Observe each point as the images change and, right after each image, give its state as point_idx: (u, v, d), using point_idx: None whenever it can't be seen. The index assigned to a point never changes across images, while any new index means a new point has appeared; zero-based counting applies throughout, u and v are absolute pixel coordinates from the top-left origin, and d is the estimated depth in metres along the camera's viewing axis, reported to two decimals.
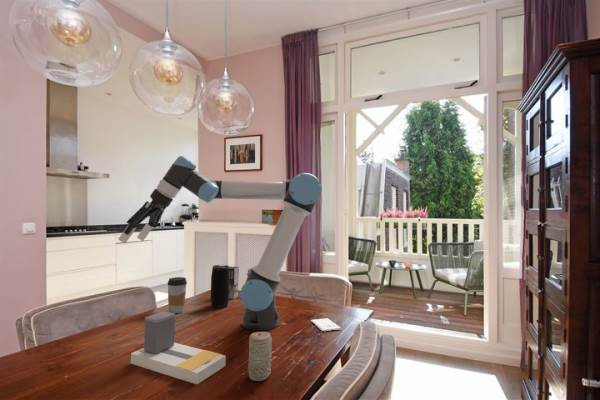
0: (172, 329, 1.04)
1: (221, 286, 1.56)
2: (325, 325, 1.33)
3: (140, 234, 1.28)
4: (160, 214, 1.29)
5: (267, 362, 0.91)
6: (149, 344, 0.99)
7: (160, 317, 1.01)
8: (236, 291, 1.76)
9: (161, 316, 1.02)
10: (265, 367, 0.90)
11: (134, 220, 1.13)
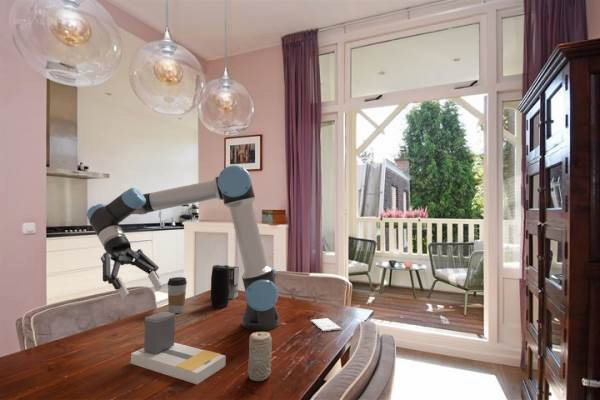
0: (172, 329, 1.04)
1: (221, 286, 1.56)
2: (325, 325, 1.33)
3: (155, 285, 1.12)
4: (144, 257, 1.16)
5: (267, 362, 0.91)
6: (149, 344, 0.99)
7: (160, 317, 1.01)
8: (236, 291, 1.76)
9: (161, 316, 1.02)
10: (265, 367, 0.90)
11: (105, 273, 1.01)
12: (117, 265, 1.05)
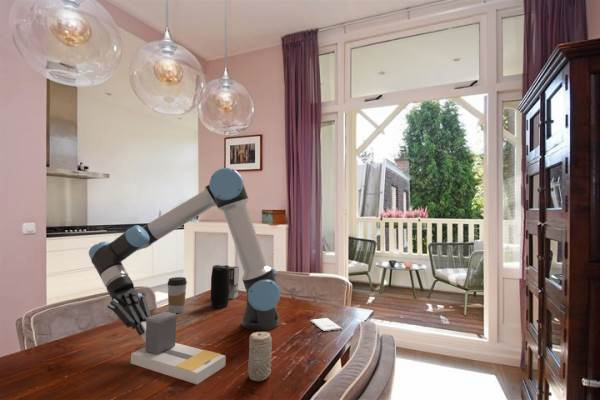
0: (173, 329, 1.03)
1: (221, 286, 1.56)
2: (325, 325, 1.33)
3: None
4: (143, 302, 1.11)
5: (267, 362, 0.91)
6: (150, 345, 0.99)
7: (161, 317, 1.00)
8: (236, 291, 1.76)
9: (162, 316, 1.02)
10: (265, 367, 0.90)
11: (127, 320, 1.02)
12: (131, 309, 1.05)
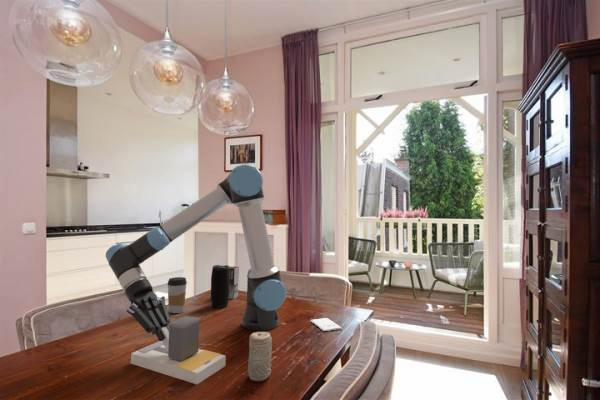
0: (196, 335, 0.99)
1: (221, 286, 1.56)
2: (325, 325, 1.33)
3: None
4: (162, 306, 1.06)
5: (267, 362, 0.91)
6: (174, 351, 0.95)
7: (185, 322, 0.96)
8: (236, 291, 1.76)
9: (185, 321, 0.97)
10: (265, 367, 0.90)
11: (147, 326, 0.98)
12: (151, 314, 1.01)
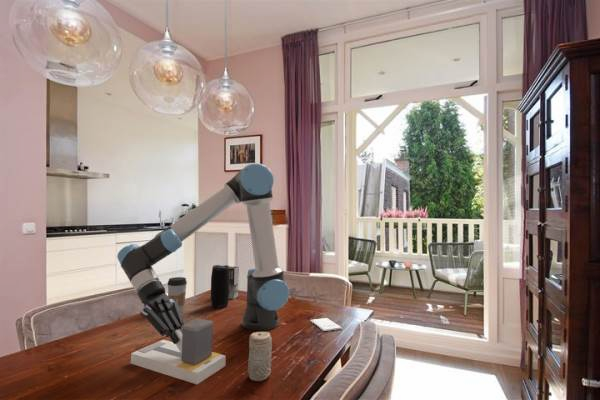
0: (210, 338, 0.97)
1: (221, 286, 1.56)
2: (325, 325, 1.33)
3: (181, 347, 0.97)
4: (175, 308, 1.04)
5: (267, 362, 0.91)
6: (188, 355, 0.93)
7: (198, 325, 0.94)
8: (236, 291, 1.76)
9: (199, 324, 0.95)
10: (265, 367, 0.90)
11: (161, 328, 0.96)
12: (164, 316, 0.99)
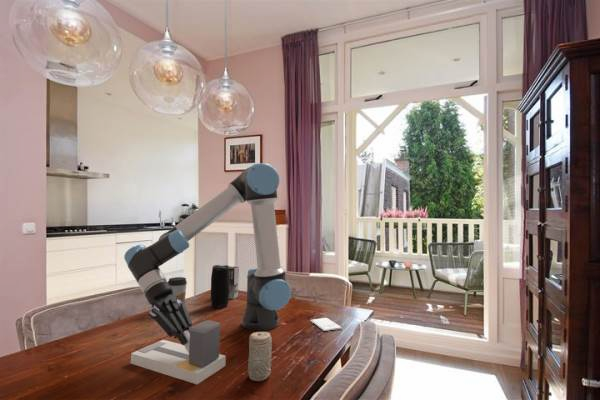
0: (217, 340, 0.96)
1: (221, 286, 1.56)
2: (325, 325, 1.33)
3: None
4: (183, 309, 1.04)
5: (267, 362, 0.91)
6: (195, 357, 0.91)
7: (206, 327, 0.93)
8: (236, 291, 1.76)
9: (206, 326, 0.94)
10: (265, 367, 0.90)
11: (169, 329, 0.95)
12: (172, 317, 0.98)
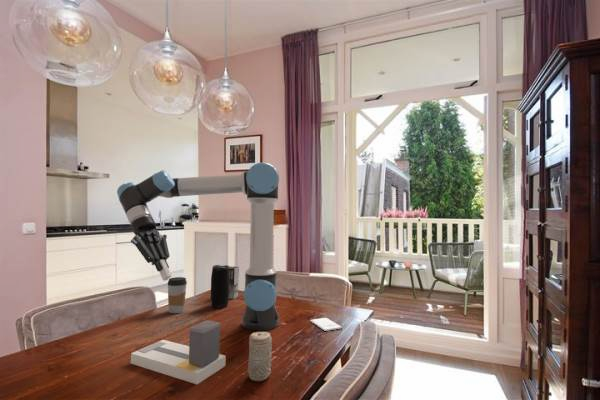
0: (217, 340, 0.96)
1: (221, 286, 1.56)
2: (325, 325, 1.33)
3: None
4: (163, 242, 1.16)
5: (267, 362, 0.91)
6: (195, 357, 0.91)
7: (206, 327, 0.93)
8: (236, 291, 1.76)
9: (206, 326, 0.94)
10: (265, 367, 0.90)
11: (147, 256, 1.08)
12: (152, 247, 1.11)
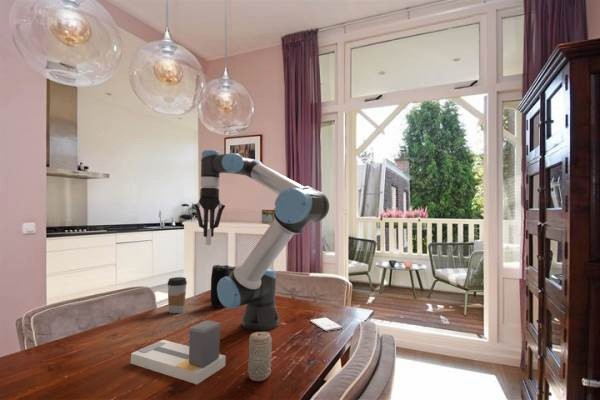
0: (217, 340, 0.96)
1: None
2: (325, 325, 1.33)
3: None
4: (218, 212, 1.37)
5: (267, 362, 0.91)
6: (195, 357, 0.91)
7: (206, 327, 0.93)
8: None
9: (206, 326, 0.94)
10: (265, 367, 0.90)
11: (199, 223, 1.33)
12: (206, 216, 1.34)
